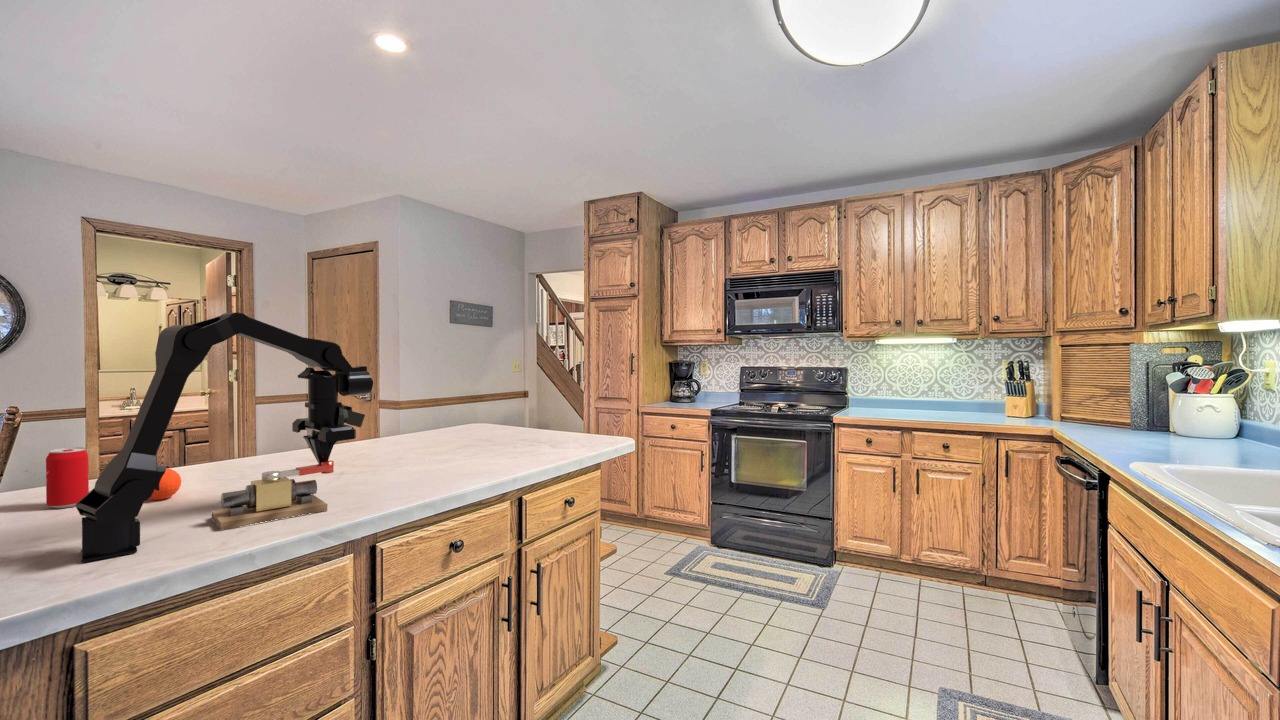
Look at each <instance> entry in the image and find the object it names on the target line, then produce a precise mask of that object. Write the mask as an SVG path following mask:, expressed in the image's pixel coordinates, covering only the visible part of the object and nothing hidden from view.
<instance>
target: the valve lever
mask: <svg viewBox="0 0 1280 720" xmlns="http://www.w3.org/2000/svg"><path fill="white" fill-rule="evenodd" d="M334 465H335V462H334V460H328V461H322V462H321V464H312V465H306V466H298V467H295V468H293V469H286V470H270V471H264V472H262V473H261V480H262V481H275V480H279V479H281V478H283V477H287V478H288V477H294V476H299V477H301V476H302V477H303V476H307V475H314V474H324V475H325V474H326V475H327V474H332V473H334V471H335V470H334V469H335V467H334Z"/></svg>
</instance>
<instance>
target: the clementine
mask: <svg viewBox="0 0 1280 720" xmlns="http://www.w3.org/2000/svg"><path fill="white" fill-rule="evenodd" d="M181 485H182V478H181V475H180V474H179V472H177V471H176V470H174V469H172V468H169V467H167V468H166V471H165V473H164V475H163V476H162V478H161V480H160V483H159V491H156V490H154V492H153V494H152V495H151V497H150V498H149V499H151V500H155V501H159V500H160V499H161V500H166V499H167V498H170V497H172V496H174V495H175V494H176V493H177V492H178V491H179V490H180V488H181ZM165 498H166V499H165Z"/></svg>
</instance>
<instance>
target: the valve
mask: <svg viewBox="0 0 1280 720" xmlns="http://www.w3.org/2000/svg"><path fill="white" fill-rule="evenodd" d="M317 491H318V483H317V480H316V479H311V480H305V481H304V480H303V481H297V482H296V481H295V479H294V478H288V477H283V478H281V479H279V480H275V481H262V479H257V480H251V481H250V484H248V485H246V486H245V489H242V490H236V491H228V492H222V493H221V496H220V502H221V504H220V505H221V509H227V513H228V514H229V515H230V516H231V517H232V516H237V515H243V506H247V508H248V509H249V508H253V509H254V510H255V511H256V512H257V511H263V510H269V509H275V508H281V507H287V506H291V502H292V501H295V500H296V497H297V502H299V503H300V504H301V505H302V504H307V503H312V495H316V494H317Z"/></svg>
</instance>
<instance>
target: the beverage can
mask: <svg viewBox="0 0 1280 720" xmlns="http://www.w3.org/2000/svg"><path fill="white" fill-rule="evenodd" d="M89 483H90V481H89V454H88V451H86V448H85V447H82V446H81V447H80V446H79V447H78V446H77V447H73V446H72V447H64V448H62V447H61V448H56V449H51V450H49V453H48V455H47V456H46V458H45V488H46V489H45V490H46V491H45V492H46V498H45V500H46V502H45V503H46V506H47V507H48V508H51V509H68V507H69V508H74V506H75V505H76V503H77V502H79V501H80V500H81V499H82V498H83V497H84V496H86V495H87V494H88V493H89V492H90V490H89V489H90V487H89ZM75 507H76V506H75Z"/></svg>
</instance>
